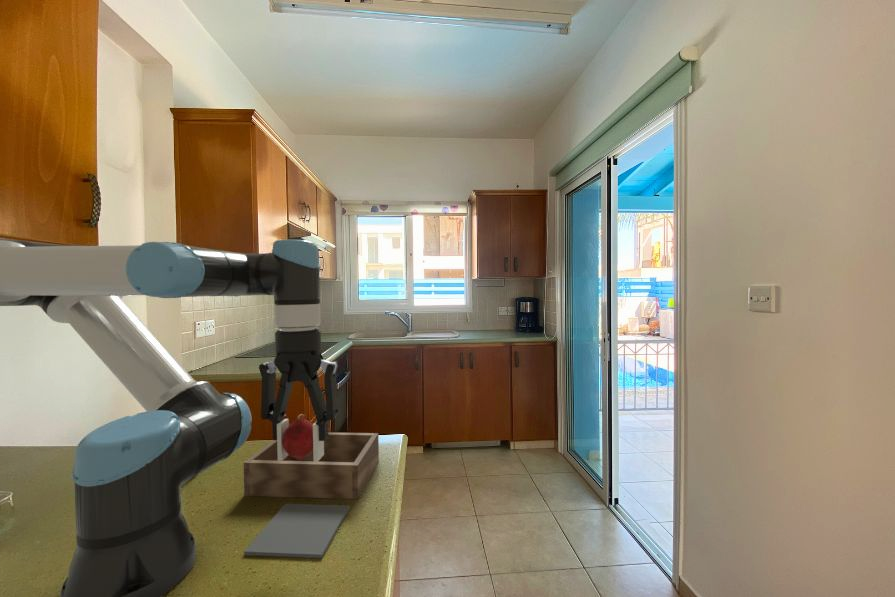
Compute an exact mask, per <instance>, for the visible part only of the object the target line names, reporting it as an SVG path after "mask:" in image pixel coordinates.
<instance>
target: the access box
mask: <svg viewBox="0 0 895 597" xmlns="http://www.w3.org/2000/svg"><path fill="white" fill-rule="evenodd" d="M379 448H380V447H379V433H378V432H375V433H374V432H371V433H370V432H329V431H328V438H327V439H326V440H325V441H324V455H323V456H322V457H321V459H320V460H319V461H318V462H314V458H313V450H312V451H311V452H310V453H309V454H308V455H307V456H306V457H305V458H304V459H301V460H299V459H296V458H294V457H291V456H290V455H288V456H287V457H286V458H285V459H283V460H282V461H278V454H277V440H274V439H272V441H271V442H269V443H268V444H266V445H265V446H263V447H262V448H261V449H259V450H258V451H257V452H255V453H254V454H253V455H252V456H250V457H249V458H248V459H247V460H245V461H244V462H243V492H244V494H243V495H244V496H248V497H250V496H251V497H279V498H280V497H281V498H283V497H284V498H309V499H313V498H314V499H315V498H317V499H347V500H349V499H351V500H359V498H360V497H361V495H362V493H363V491H364V489H365V488H366V485H367V484H368V482H369V480H370V478H371V477H372V475H373V472H374V470H375V469H376V466H377V465H378V463H379V460H380V457H379V454H380V452H379V451H380V450H379Z"/></svg>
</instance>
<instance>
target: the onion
mask: <svg viewBox="0 0 895 597" xmlns="http://www.w3.org/2000/svg"><path fill="white" fill-rule="evenodd" d="M305 418H306V417H305V414H303V413H301V414H298V416H297V417H296V419H295V420H294V421H293V422H292V423H289V426H288V428H287V429H286V431H285V433H284V436H283V442H282V443H283V448H284V449H285V451H286V452H287V454H289V455H290V456H291V457H294V458H296V459H299V460H301V459H304V458H305V457H306V456H307V455H308V454H309V453H310V452H311V451H312V450H313V424H314V423H312V422H311V421H309V420H308V419H305Z"/></svg>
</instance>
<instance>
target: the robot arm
mask: <svg viewBox="0 0 895 597" xmlns="http://www.w3.org/2000/svg"><path fill="white" fill-rule="evenodd" d="M319 256H320V255H319V247H318V246H317V244H316V243H315V242H313V241H309V240H304V239H291V238H290V239H287V238H286V239H285V238H284V239H278V240H274V242H273V244H272V249H271V252H268V253H243V252H237V251H236V252H234V251H229V250H222V249H221V250H220V249H213V248H205V247H199V246H192V245H186V244H182V243H180V242H179V243H178V242H169V241H148V242H144V243H141V245H140V244H139V245H76V244H75V245H74V244H72V245H71V244H70V245H69V244H68V245H66V244H57V243H49V242H48V243H47V242H37V241H31V240H30V241H29V240H28V241H27V240H18V239H17V240H16V239H10V238H1V237H0V307H19V306H21V307H22V306H26V307H27V306H37V307H39V308H40V309H41V310H42V311H43V312H44V313H45V314H46V315H47V316H48V317H49V319H50V320H52V321H53V322H56V323H60V324H69V325H70V326H71V327H72V328H73V330H74V331H75V332H76V333H77V335H78V336H80V337H81V339H82V340H83V341H84V342H85V343H86V344H87V346H88V347H89V348H90V349H91V350H92V351H93V352H94V354H95V355H96V356H97V357H98V358H99V359H100V360H101V361H102V363H103V364H104V365H105V366H106V367H107V368H108V369H109V371H110V372H111V373H112V374H113V375H114V376H115V378H117V380H119V382H120V383H121V385H123V386H124V387H125V389H126V390H127V391H128V392H129V394H131V396H132V397H133V398H134V399H135V400H136V401H137V403H138V404H139V405H140V406H141V407H142V408H143V409H144V410H145V411H142V412H138V413H136V414H133V415H127V416H126V415H125V416H124V417H123V416H122V417H120V418H118V419H115V420H112V421H110V422H108V423H105V424H103V425H101V426H99V427H97V428H96V429H93V430H92V431H91V432H90V431H89V433H88V434H86V435H85V436H84V437H83V438H82V439H81V440H80V442H78V444H77V446H76V448H75V451H74V463H73V469H72V472H71V478H72V480H73V482H74V500H75V501H74V505H75V532H76V533H75V534H76V535H75V536H76V538H75V539H76V548H75V551H74V553H73V556H72V560H71V562H70V565H69V566H70V567H69V570H68V575H67V577H66V579H65V580H64V582H63V583H62V586H61V589H60V591H59V597H163V596H164V595H165V594H166V593H168V592H170V591H171V590H172V589H173V588H175V587H176V586H177V585H178V584H179V583H180V582H181V581H183V579H185V577H186V576H187V575H188V574H189V572H190V571H191V569H193V566H194V565H195V561H196V558H197V550H196V548H197V547H196V539H195V537H194V535H193V534H192V533H191V531H190V529H189V526H188V523H187V520H186V519H185V516H184V514H183V512H182V502H181V500H182V499H181V498H182V496H181V495H182V494H181V493H182V492H181V487H182V486H183V485H184V484H185V483H187V482H189V481H190V480H193V479H194V478H195V477H197V476H199V475H200V474H202V473H203V472H205V471H206V470H208V469H210V468H212V467H213V466H215V465H217V464H218V463H220V462H221V461H222V462H223V461H224V460H226V459H228V458H229V457H231V455H232V454H234V453H235V452H236V451H238V450H239V449H241V447H243V445H244V444H245V443H246V441H247V439H248V438H249V436H250V434H251V430H252V421H253V420H252V413H251V410H250V407H249V405H248V404H247V402H246V401H245V400H244V399H243V398H242V397H241V396H240V395H238V394H236V393H230V392H223V393H219V391H218V390H216V388H215V387H214V386H213V385H212V384H211V383H210V382H209V381H207V380H205V381H204V380H201V381H200V380H198V381H197V380H195V378H193V377H192V376H191V374H190V373H189V372H188V371H187V370H186V369H185V368H184V366H183V365H182V364H181V363H180V362H179V360H177V359H176V358H175V357H174V355H173V354H172V353H171V352H170V351H169V349H167V347H165V345H164V344H163V343H162V342H161V341H160V339H158V338H157V337H156V335H155V334H154V333H153V332H152V331H151V329H149V328H148V327H147V325H145V323H144V322H143V321H142V320H141V319H140V317H138V315H137V314H136V313H135V312H134V311H133V310H132V309H131V308H130V307H129V306H128V305H127V303H126V302H125V301H124V300H123V297H150V298H160V299H180V298H194V297H195V298H196V297H199V298H200V297H235V298H236V297H240V296H245V297H246V296H247V297H249V296H273V300H274V302H273V304H274V306H273V307H274V310H273V311H274V327H275V328H277V329H278V330H276V331H275V332H274V343H275V344H274V347H275V349H274V350H275V351H276V354H275V355H276V356H275V357H274V360H272V361H270V360H269V361H267V362H264V363H261V364H259V366H258V370H259V373H260V376H261V391H260V392H261V402H260V404H261V405H260V418H261V419H262V420H263V421H264V420H268V421H270V422H271V424H272V438H273V439H272V440H277V454H278V461H282V460H283V459H285V458H286V457H287V456H288V455H289V454H287V452H286V451H285V449H284V448H283V443H282V442H283V436H284V433H285V431H286V429H287V428H288V426H289V425H290V419H289V418H285V417H287V414H286V412H287V408H288V404H289V400H290V397H291V393H292V389H293V386H294V384H295V382H300V383H303V386H304V387H305V389H306V392H307V394H308V398H309V400H310V403H311V407H312V410H313V412H314V415H315V419H316V421H315V422H314V423H312V424H313V458H314V462H318V461H319V460H320V459H321V457H322V456H323V455H324V441H325V440H326V439H327V438H328V432H329V421H333V420H334V419H335V418H336V417H337V416H338V415H339V414H340V409H339V397H338V384H337V372H338V368H339V365H340V364H339V362H338V361H329V360H326V359H324V357H323V354H322V330H320V329H321V328H318V327H319V326H320V325H321V298H320V296H321V295H320V292H321V291H320V285H321V284H320V269H321V265H320V257H319ZM321 368H322V373H323V374H324V377H323V378H324V379H323V381H324V394H325V395H323V392H322V389H321V385H320V378H319V375H318V372H319V370H320V369H321ZM277 370H278V371H279V373H280V374H281V375H280V379H279V382H278V386H279V388H278V392H277V396H276V388H277V387H276V385H277V384H276V382H277V375H276V372H277ZM324 396H325V397H324Z"/></svg>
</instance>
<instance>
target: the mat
mask: <svg viewBox="0 0 895 597" xmlns="http://www.w3.org/2000/svg"><path fill="white" fill-rule="evenodd" d="M349 510H350V505H341V504H340V505H337V504H335V505H334V504H308V503H307V504H305V503H285V504H284V505H283V506H282V507H281V508H280V509H279V510H278V511H277V513H275V515H274V516H273V517H272V518H271V520H270V521H269V522H268V523H267V524H266V525H265V526H264V528H263V529H262V530H261V531H260V532H259V533H258V535H257V536H256V537H255V538H254V539H253V540H252V541H251V543H250V544H249V545H248V546H247V547H246V549H245V550H244V551H243V555H244V556H257V557H259V556H260V557H278V558H279V557H282V558H284V557H285V558H286V557H287V558H305V559H306V558H310V559H322V558H323V557H324V555H325V554H326V552H327V550H328V548H329V546H330V545H331V543H332V541H333V539H334V537H335V535H336V534H337V532H338V530H339V528H340V526H341V524H342V523H343V521H344V519H345V518H346V516H347V514H348V513H349Z"/></svg>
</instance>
